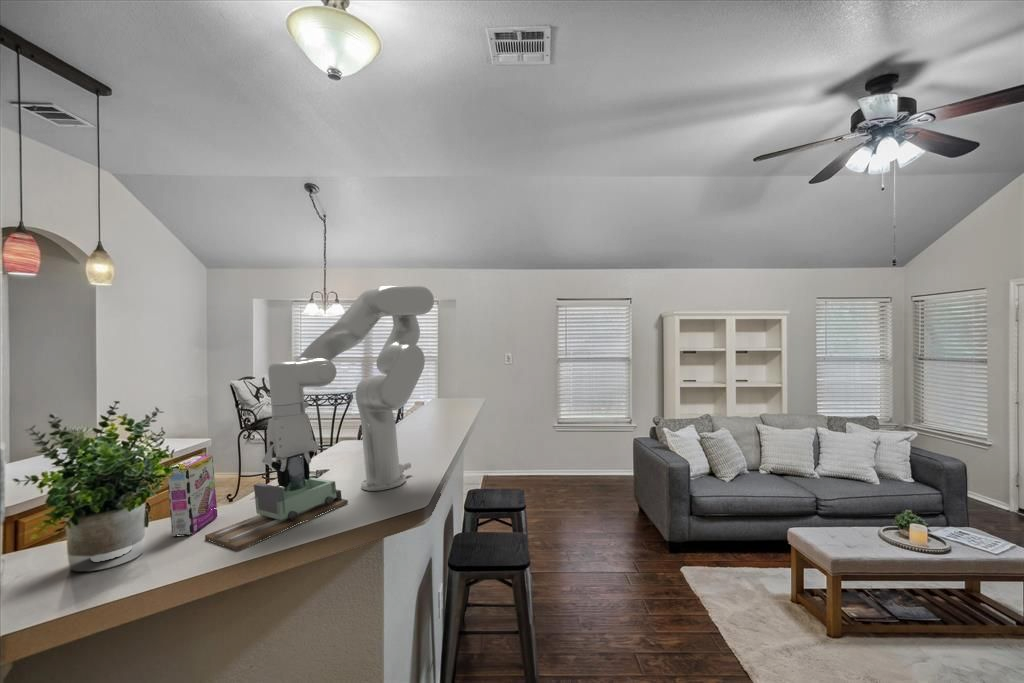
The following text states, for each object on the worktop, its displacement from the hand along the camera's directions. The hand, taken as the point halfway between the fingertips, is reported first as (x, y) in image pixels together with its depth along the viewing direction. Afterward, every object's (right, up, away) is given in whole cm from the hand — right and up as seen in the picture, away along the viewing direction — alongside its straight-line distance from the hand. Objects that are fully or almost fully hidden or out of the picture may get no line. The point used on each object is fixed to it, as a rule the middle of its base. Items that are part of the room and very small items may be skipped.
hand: (294, 481), depth 118 cm
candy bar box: (-23, -10, -3) cm, 25 cm away
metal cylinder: (0, -1, 0) cm, 2 cm away
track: (-2, -8, -3) cm, 9 cm away
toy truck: (+1, -7, 0) cm, 7 cm away
